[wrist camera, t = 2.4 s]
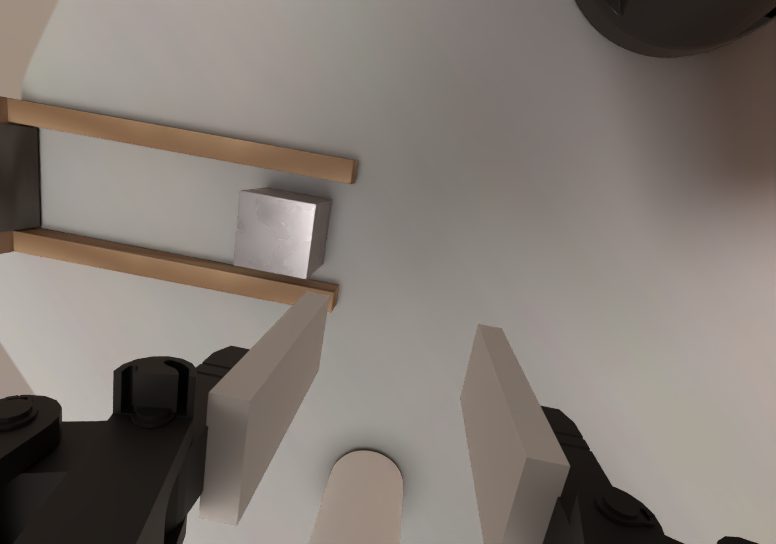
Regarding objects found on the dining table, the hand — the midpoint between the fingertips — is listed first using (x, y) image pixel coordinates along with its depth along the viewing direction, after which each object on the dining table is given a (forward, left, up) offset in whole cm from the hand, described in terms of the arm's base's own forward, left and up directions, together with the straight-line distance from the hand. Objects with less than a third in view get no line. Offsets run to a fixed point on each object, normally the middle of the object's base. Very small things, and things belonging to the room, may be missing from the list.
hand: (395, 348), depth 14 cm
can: (+21, 0, -19) cm, 28 cm away
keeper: (0, -9, -19) cm, 21 cm away
